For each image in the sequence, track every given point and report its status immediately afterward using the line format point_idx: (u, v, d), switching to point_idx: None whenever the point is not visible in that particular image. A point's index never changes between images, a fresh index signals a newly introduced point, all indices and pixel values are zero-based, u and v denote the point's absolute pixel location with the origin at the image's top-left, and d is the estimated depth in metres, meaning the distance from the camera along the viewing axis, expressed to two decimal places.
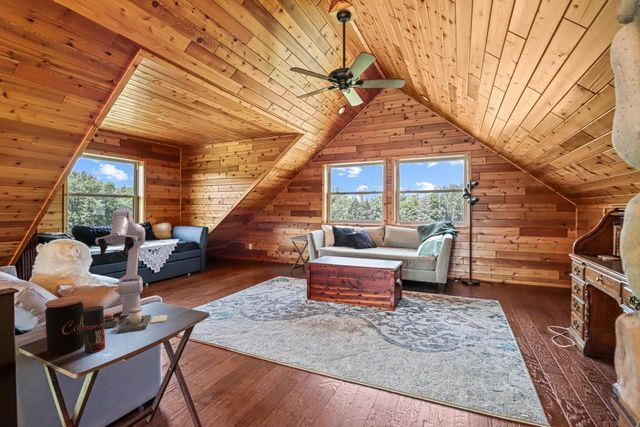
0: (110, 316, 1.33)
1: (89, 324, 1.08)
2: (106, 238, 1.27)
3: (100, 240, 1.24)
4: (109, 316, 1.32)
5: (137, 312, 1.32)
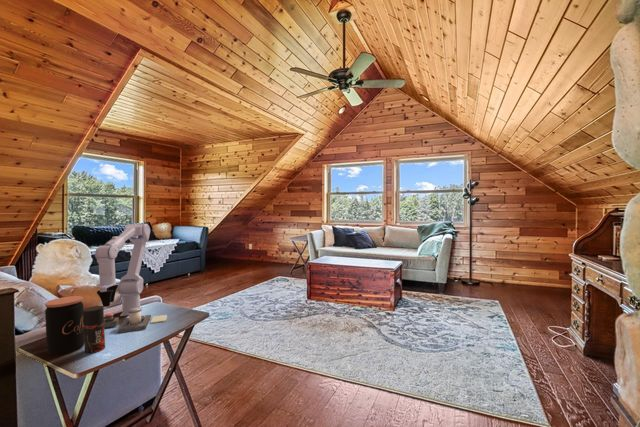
0: (110, 316, 1.33)
1: (89, 324, 1.08)
2: None
3: None
4: (109, 316, 1.32)
5: (137, 312, 1.32)
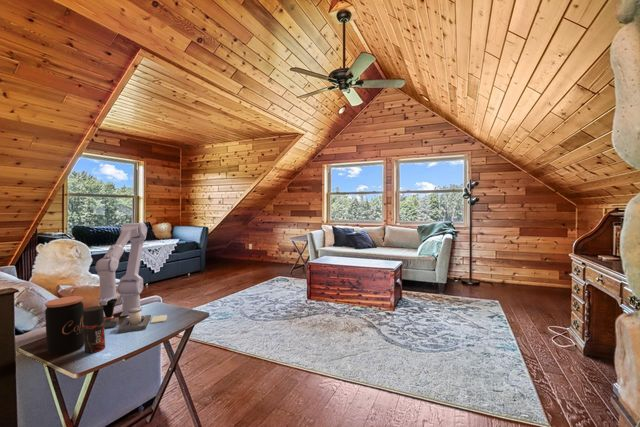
0: (110, 319, 1.33)
1: (89, 324, 1.08)
2: None
3: None
4: (109, 319, 1.32)
5: (137, 312, 1.32)
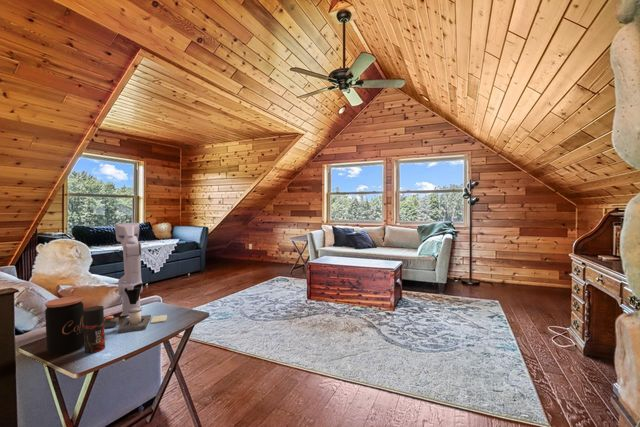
0: (110, 319, 1.33)
1: (89, 324, 1.08)
2: None
3: None
4: (109, 319, 1.32)
5: (137, 312, 1.32)
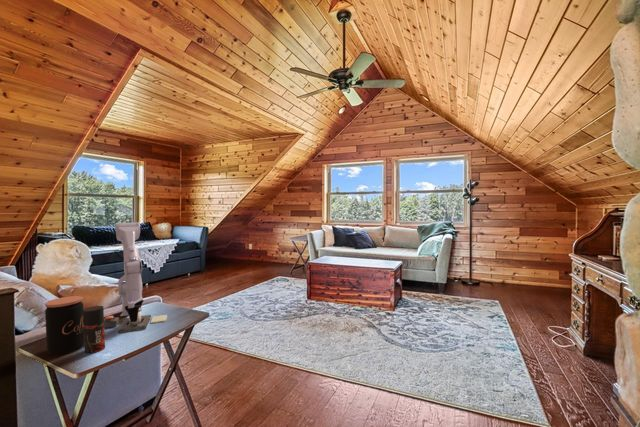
0: (110, 319, 1.33)
1: (89, 324, 1.08)
2: None
3: None
4: (109, 319, 1.32)
5: None
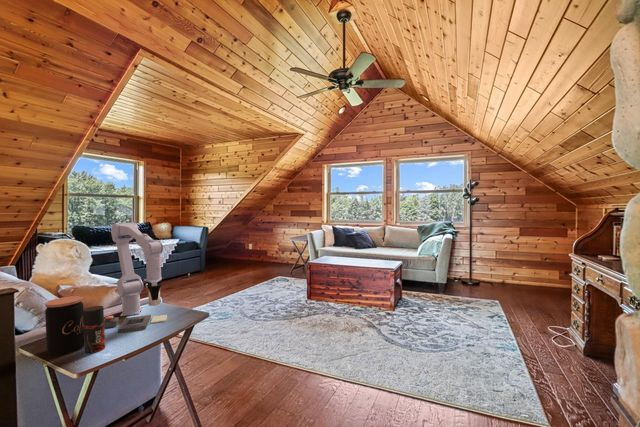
0: (110, 319, 1.33)
1: (89, 324, 1.08)
2: None
3: (148, 284, 1.40)
4: (109, 319, 1.32)
5: None
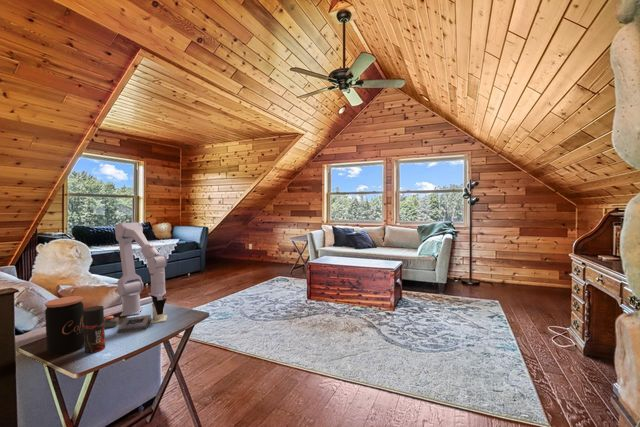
0: (110, 319, 1.33)
1: (89, 324, 1.08)
2: None
3: None
4: (109, 319, 1.32)
5: None
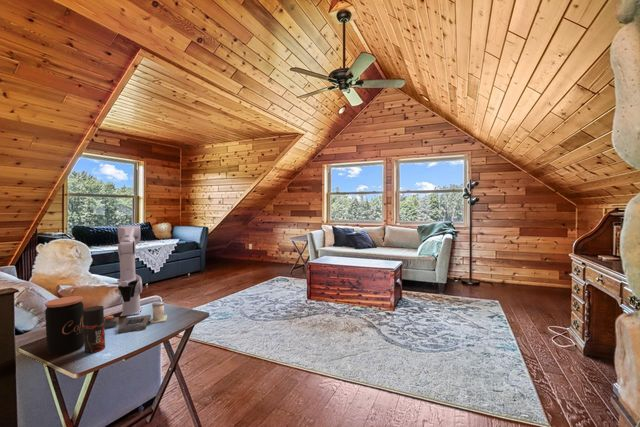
0: (110, 319, 1.33)
1: (89, 324, 1.08)
2: None
3: None
4: (109, 319, 1.32)
5: (161, 305, 1.38)
